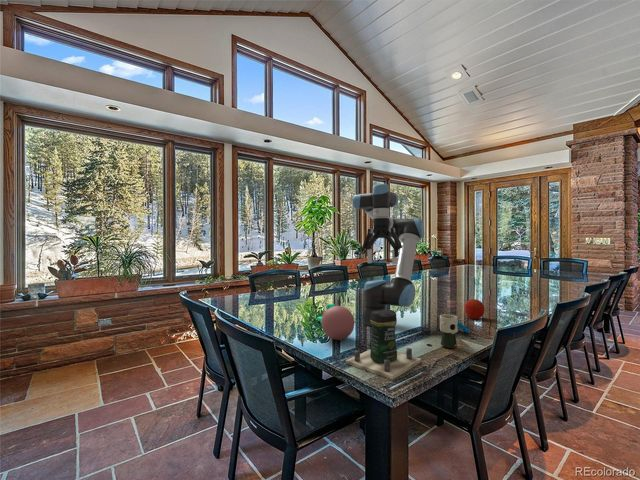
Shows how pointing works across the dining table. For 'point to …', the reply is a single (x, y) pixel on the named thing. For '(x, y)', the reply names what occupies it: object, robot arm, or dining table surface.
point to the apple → (474, 309)
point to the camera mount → (326, 308)
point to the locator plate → (380, 366)
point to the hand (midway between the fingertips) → (381, 263)
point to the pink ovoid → (337, 322)
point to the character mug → (448, 330)
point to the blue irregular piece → (462, 327)
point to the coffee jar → (383, 336)
